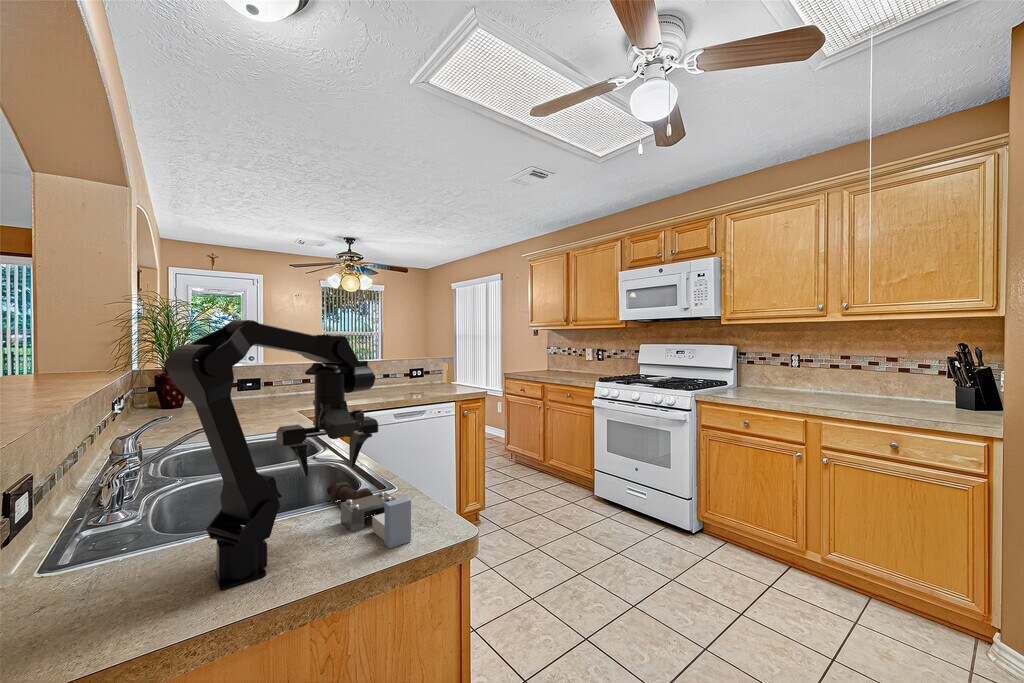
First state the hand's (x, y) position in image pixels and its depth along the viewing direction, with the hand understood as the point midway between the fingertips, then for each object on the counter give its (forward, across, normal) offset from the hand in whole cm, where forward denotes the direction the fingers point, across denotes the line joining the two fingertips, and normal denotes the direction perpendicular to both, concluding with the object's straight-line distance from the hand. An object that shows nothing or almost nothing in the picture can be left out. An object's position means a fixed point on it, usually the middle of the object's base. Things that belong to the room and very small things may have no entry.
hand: (329, 471), depth 89 cm
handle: (+12, +8, -12) cm, 18 cm away
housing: (+12, +8, -1) cm, 14 cm away
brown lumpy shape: (+12, +8, +12) cm, 19 cm away
